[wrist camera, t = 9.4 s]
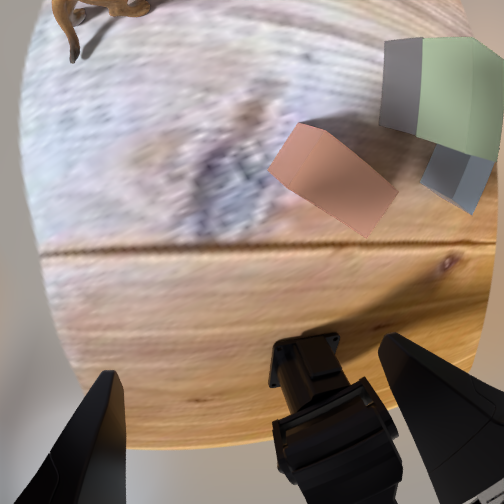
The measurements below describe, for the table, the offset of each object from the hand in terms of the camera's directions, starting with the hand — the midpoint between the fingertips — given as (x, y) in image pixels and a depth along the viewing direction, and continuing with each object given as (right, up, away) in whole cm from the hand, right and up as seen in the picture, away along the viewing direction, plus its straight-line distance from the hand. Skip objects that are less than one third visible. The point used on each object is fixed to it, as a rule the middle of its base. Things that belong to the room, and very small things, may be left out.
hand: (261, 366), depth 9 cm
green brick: (+11, +13, +5) cm, 18 cm away
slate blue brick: (+16, +12, +12) cm, 23 cm away
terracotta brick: (+4, +9, +10) cm, 14 cm away
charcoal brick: (+10, +15, +8) cm, 20 cm away
